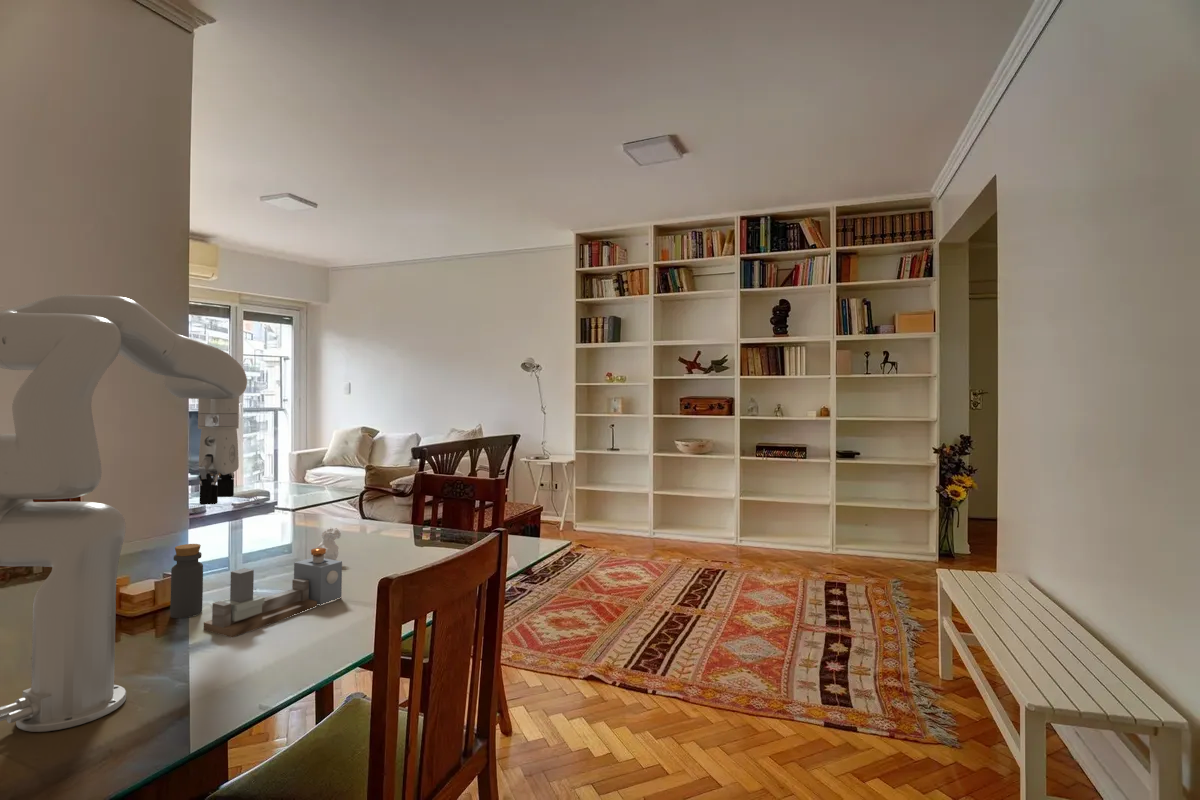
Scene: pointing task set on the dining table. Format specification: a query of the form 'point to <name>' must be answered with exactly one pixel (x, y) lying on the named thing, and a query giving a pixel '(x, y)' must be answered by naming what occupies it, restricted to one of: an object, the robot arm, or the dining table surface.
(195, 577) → the bottle
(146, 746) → the dining table surface
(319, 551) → the gauge plunger
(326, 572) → the end cabinet
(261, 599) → the carriage
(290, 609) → the rail plinth
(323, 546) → the duck figurine
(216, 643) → the dining table surface
